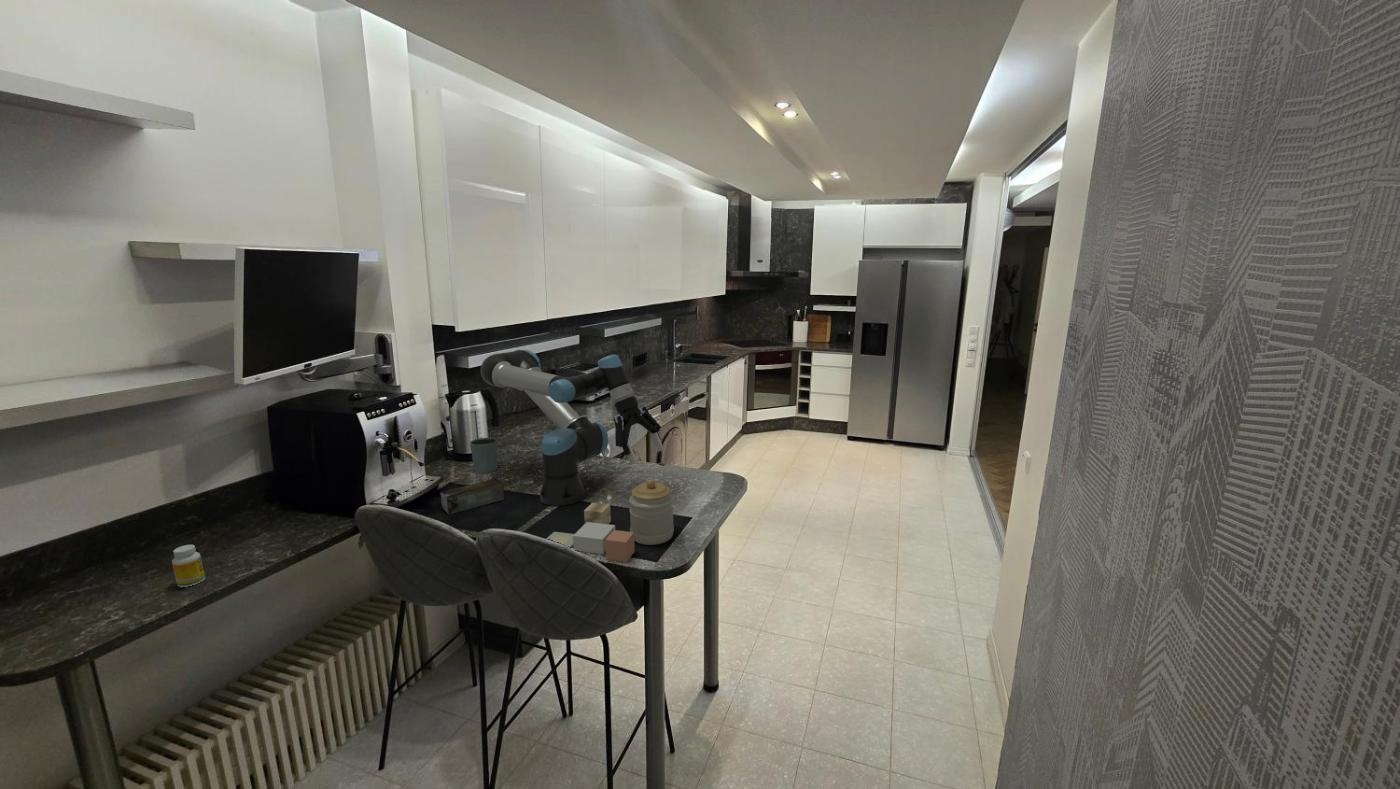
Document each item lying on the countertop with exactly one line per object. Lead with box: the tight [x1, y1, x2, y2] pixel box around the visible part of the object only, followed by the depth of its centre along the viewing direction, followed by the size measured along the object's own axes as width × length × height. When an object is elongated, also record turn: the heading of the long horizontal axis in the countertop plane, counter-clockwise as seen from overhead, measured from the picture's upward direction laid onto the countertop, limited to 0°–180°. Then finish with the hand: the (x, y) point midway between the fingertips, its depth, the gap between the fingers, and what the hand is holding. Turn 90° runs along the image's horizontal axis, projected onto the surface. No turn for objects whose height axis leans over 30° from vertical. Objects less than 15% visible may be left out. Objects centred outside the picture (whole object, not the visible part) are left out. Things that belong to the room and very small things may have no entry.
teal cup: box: [469, 437, 498, 475], centre depth 219 cm, size 10×10×12 cm
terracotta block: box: [605, 529, 635, 563], centre depth 153 cm, size 6×6×6 cm
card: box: [546, 531, 575, 548], centre depth 161 cm, size 9×9×1 cm
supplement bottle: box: [171, 544, 206, 588], centre depth 140 cm, size 5×5×10 cm
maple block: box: [583, 502, 612, 525], centre depth 172 cm, size 6×6×6 cm
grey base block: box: [573, 522, 616, 555], centre depth 159 cm, size 9×9×4 cm
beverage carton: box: [440, 478, 506, 515], centre depth 188 cm, size 8×19×7 cm, turn 129°
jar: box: [628, 479, 675, 546], centre depth 164 cm, size 13×13×18 cm
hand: (647, 457), depth 187 cm, fingers open, 13 cm apart
